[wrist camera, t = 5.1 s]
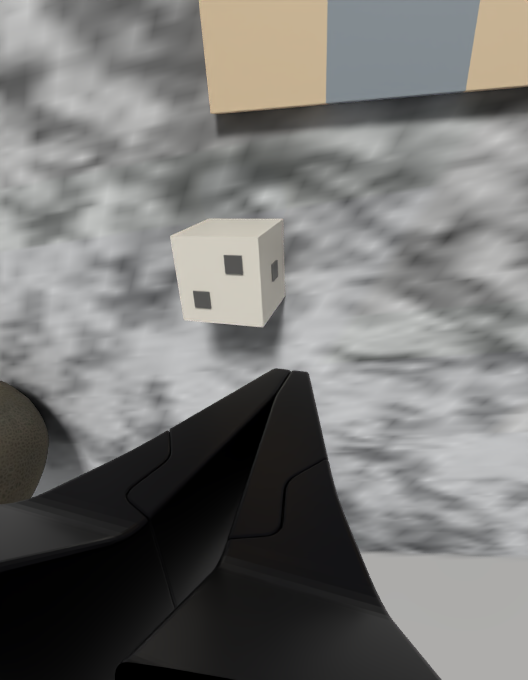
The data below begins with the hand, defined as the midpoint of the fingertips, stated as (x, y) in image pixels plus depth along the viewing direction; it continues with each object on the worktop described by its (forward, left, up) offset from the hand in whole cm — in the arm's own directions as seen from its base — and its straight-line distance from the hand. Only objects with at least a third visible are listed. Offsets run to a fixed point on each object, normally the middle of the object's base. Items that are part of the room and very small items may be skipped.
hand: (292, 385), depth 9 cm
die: (+5, 0, -11) cm, 12 cm away
